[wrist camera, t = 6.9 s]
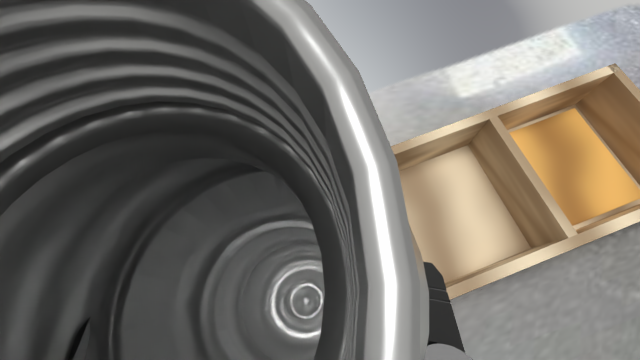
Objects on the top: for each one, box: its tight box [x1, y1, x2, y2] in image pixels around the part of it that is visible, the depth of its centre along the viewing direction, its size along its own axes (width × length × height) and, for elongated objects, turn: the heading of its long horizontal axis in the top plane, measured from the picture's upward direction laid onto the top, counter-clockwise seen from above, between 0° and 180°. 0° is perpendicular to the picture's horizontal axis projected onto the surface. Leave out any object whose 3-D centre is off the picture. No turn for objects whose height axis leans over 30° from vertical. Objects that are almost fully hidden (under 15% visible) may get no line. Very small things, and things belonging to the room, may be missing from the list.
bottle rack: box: [391, 64, 640, 299], centre depth 22 cm, size 20×10×5 cm, turn 110°
